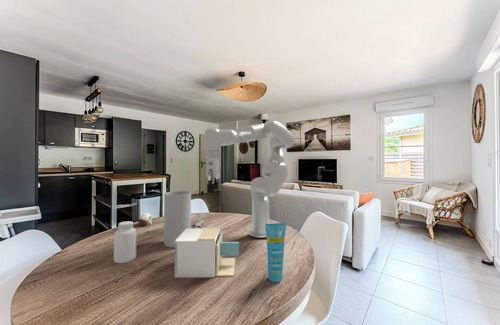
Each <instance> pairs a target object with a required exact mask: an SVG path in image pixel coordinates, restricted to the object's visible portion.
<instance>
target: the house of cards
mask: <svg viewBox="0 0 500 325" xmlns="http://www.w3.org/2000/svg"><path fill="white" fill-rule="evenodd" d="M196 216H197V217H196V220H195V222H194V227H195V228H197V227H196V226H201V225H203V226H204V220H200V213H197V214H196ZM201 227H202V226H201Z"/></svg>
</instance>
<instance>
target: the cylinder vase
mask: <svg viewBox="0 0 500 325" xmlns="http://www.w3.org/2000/svg"><path fill="white" fill-rule="evenodd" d="M163 196H164V198H163V201H164V202H163V203H164V204H163V208H164V209H163V245H164V246H165V247H166V248H173V249H175V240H176V239H177V238H178V237H179V236H180V235H181V234H182V233H183V232H184V231H185V229H192V192H191V191H185V190H180V191H177V190H176V191H168V192H164V194H163Z"/></svg>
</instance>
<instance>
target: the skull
mask: <svg viewBox="0 0 500 325" xmlns="http://www.w3.org/2000/svg"><path fill="white" fill-rule="evenodd" d="M152 220H153V218H152V215H151V214H150V213H147V212H145V213H142V214H141V215H140V216H139V217H138V221H137V223H136V224H134V227H137V226H139V227H147V226H149V225H151V224H152V223H153V222H152Z"/></svg>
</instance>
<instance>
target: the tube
mask: <svg viewBox="0 0 500 325" xmlns="http://www.w3.org/2000/svg"><path fill="white" fill-rule="evenodd" d="M265 228H266V237H265V238H266V249H267V254H266V255H267V277H268V280H269V281H271V282H274V283H279V282H281V281H283V272H284V258H285V257H284V255H285V254H284V253H285V240H286V231H287V222H275V223H274V222H273V223H269V224H266V223H265Z"/></svg>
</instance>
